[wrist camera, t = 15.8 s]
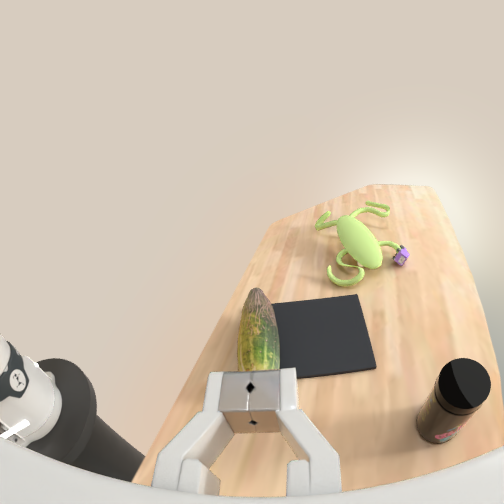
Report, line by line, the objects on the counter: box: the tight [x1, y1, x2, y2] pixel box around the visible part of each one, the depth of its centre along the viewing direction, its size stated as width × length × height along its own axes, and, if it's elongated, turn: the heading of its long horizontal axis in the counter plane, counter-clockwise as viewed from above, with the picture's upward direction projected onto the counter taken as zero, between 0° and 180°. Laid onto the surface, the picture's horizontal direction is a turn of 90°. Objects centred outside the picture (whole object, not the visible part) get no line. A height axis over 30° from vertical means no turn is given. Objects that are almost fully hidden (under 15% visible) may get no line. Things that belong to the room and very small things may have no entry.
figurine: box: [315, 201, 410, 286], centre depth 65 cm, size 18×27×6 cm
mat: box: [271, 294, 376, 379], centre depth 49 cm, size 20×16×1 cm
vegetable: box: [237, 288, 280, 371], centre depth 46 cm, size 6×6×20 cm
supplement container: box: [417, 358, 491, 443], centre depth 28 cm, size 7×7×10 cm
